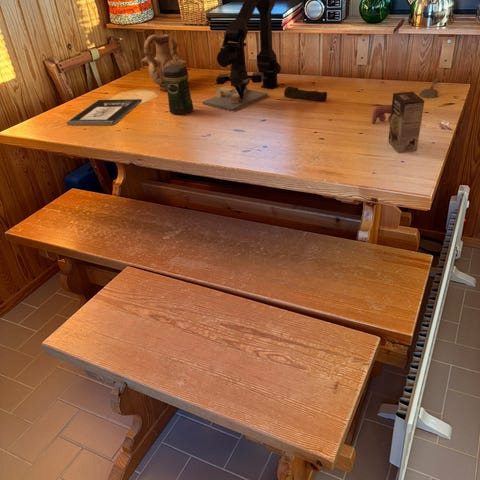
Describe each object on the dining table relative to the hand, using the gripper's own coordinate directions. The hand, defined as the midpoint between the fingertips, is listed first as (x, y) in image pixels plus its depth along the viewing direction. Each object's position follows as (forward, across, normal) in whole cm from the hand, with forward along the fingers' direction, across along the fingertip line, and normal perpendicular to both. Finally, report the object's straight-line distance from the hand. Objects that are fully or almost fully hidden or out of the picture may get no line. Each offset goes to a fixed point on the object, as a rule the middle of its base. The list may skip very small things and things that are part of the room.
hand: (241, 99), depth 193 cm
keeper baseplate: (+2, -4, +5) cm, 7 cm away
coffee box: (+4, +60, -43) cm, 74 cm away
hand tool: (+3, +25, +4) cm, 26 cm away
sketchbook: (+2, -59, -7) cm, 60 cm away
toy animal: (+4, +57, -22) cm, 61 cm away
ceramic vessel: (+1, -40, +26) cm, 47 cm away
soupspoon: (+4, +77, +13) cm, 78 cm away
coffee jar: (+2, -24, -8) cm, 26 cm away
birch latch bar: (0, -2, +6) cm, 7 cm away
